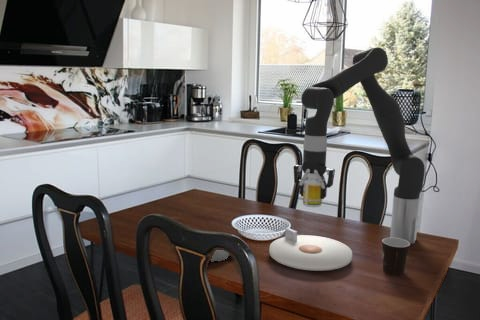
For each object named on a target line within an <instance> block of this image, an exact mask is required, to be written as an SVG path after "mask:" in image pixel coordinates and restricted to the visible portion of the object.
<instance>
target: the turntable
mask: <svg viewBox="0 0 480 320" xmlns="http://www.w3.org/2000/svg"><path fill="white" fill-rule="evenodd" d="M284 235H285V236H283V237H279V238H277V239H275V240H273V241H272V242H271V243H270V245H269V256H270V257H271V258H272V259H273V260H275V261H276V262H277V263H279V264H282V265H284V266H287V267H289V268H294V269H297V270H303V271H316V272H318V271H320V272H322V271H332V270H339V269H341V268H343V267H346V266H348V265H349V264H351V262H352V259H353V251H352V249H351V248H350V247H349V246H348V245H346V244H345V243H342V242H341V241H339V240H336V239H333V238H329V237H325V236H318V235H311V234H310V235H309V234H307V235H306V234H298V231H297V230H294V229H293V228H292V229H291V228H290V227H285V234H284Z"/></svg>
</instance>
